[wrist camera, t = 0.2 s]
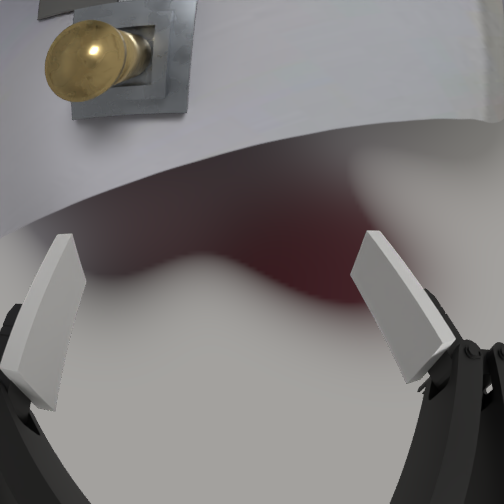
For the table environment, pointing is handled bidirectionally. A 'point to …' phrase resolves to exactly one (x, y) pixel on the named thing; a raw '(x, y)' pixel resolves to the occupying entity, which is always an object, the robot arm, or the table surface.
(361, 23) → the table surface
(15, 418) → the robot arm
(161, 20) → the housing
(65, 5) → the mat
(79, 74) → the brass flared knob
